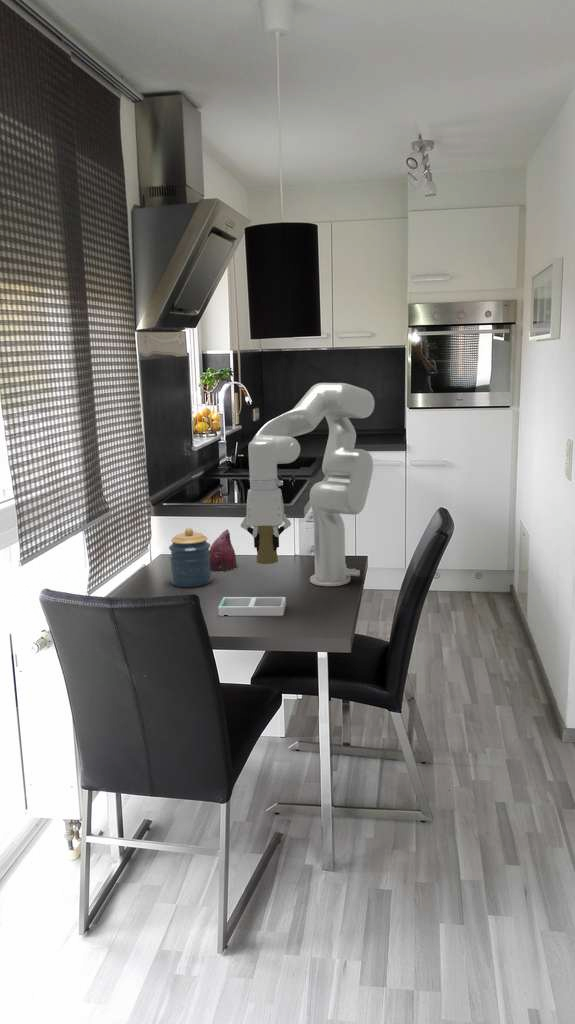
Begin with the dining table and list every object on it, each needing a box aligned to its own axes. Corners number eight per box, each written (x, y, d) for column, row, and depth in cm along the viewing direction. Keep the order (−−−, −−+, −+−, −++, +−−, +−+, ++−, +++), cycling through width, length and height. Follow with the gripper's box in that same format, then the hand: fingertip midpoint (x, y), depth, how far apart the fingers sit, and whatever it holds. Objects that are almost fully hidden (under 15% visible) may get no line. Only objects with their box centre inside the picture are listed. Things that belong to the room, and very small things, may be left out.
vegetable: (241, 574, 281) (251, 533, 277) (223, 578, 272) (234, 535, 268) (217, 563, 286) (227, 523, 282) (198, 567, 277) (209, 525, 273)
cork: (275, 564, 226) (273, 524, 224) (254, 563, 227) (252, 524, 225) (280, 559, 232) (278, 520, 230) (259, 558, 233) (257, 520, 231)
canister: (192, 574, 271) (189, 521, 268) (220, 580, 263) (218, 526, 260) (162, 583, 262) (159, 529, 258) (191, 590, 253) (187, 534, 250)
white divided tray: (285, 605, 236) (285, 596, 236) (283, 615, 227) (282, 607, 227) (223, 605, 238) (223, 597, 237) (218, 615, 229) (218, 607, 228)
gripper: (295, 481, 228) (297, 546, 232) (235, 483, 229) (238, 547, 233) (293, 487, 221) (296, 553, 225) (231, 488, 222) (235, 554, 226)
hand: (266, 549), depth 229 cm, fingers closed on cork, 4 cm apart
